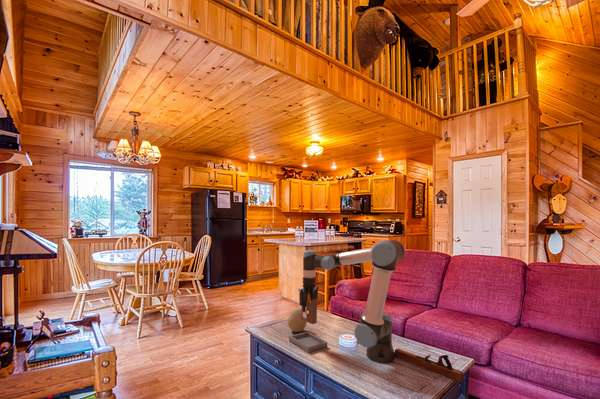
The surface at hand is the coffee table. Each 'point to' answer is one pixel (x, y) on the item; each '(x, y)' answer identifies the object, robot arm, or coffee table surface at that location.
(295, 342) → the tray
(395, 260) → the robot arm
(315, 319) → the brown wooden piece
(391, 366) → the coffee table surface
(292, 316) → the fossilized egg
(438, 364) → the hand plane
